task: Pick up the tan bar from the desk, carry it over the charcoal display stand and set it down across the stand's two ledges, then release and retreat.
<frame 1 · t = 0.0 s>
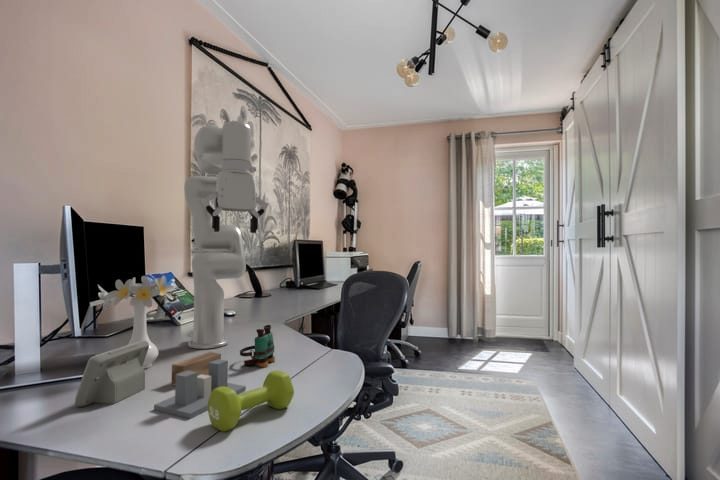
hand: (235, 232, 103), 37 cm above the table, tool pointing down, fingers open, 9 cm apart
binoculars: (256, 364, 109), on the table
digital clock: (114, 395, 85), on the table
tan bar: (197, 378, 97), on the table
display stand: (202, 399, 83), on the table
flower vase: (136, 368, 104), on the table
dumbbell: (252, 417, 75), on the table
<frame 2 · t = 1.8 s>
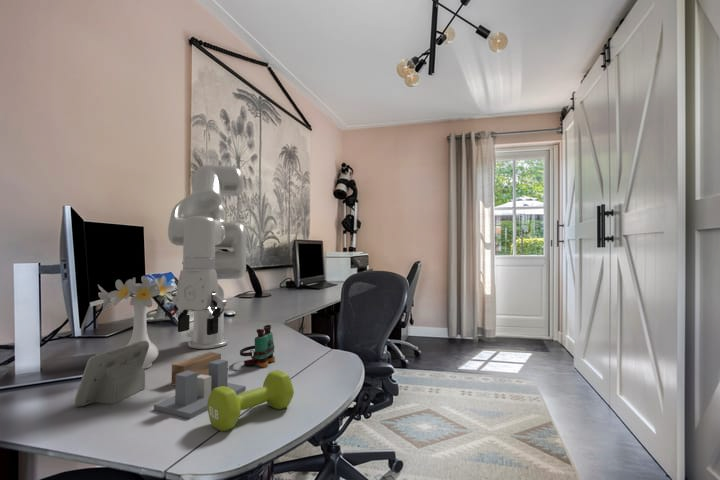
hand: (197, 332, 97), 12 cm above the table, tool pointing down, fingers open, 9 cm apart
nothing on the table moved.
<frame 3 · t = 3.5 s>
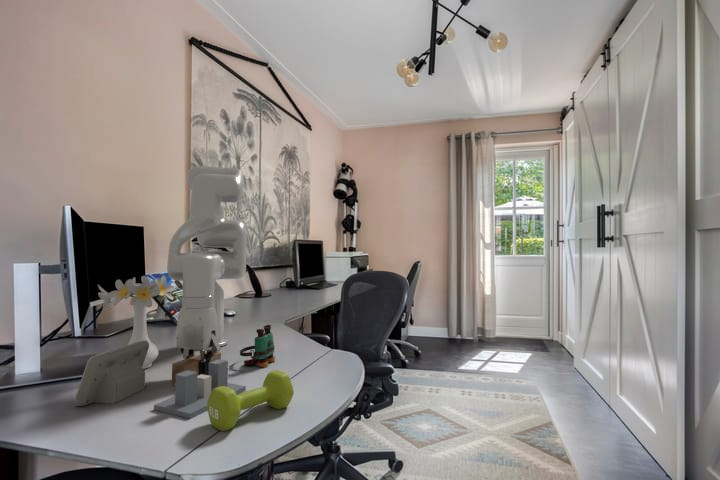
hand: (197, 374, 97), 1 cm above the table, tool pointing down, fingers closed on tan bar, 4 cm apart
tan bar: (197, 377, 97), on the table, touching gripper
everything else where it was.
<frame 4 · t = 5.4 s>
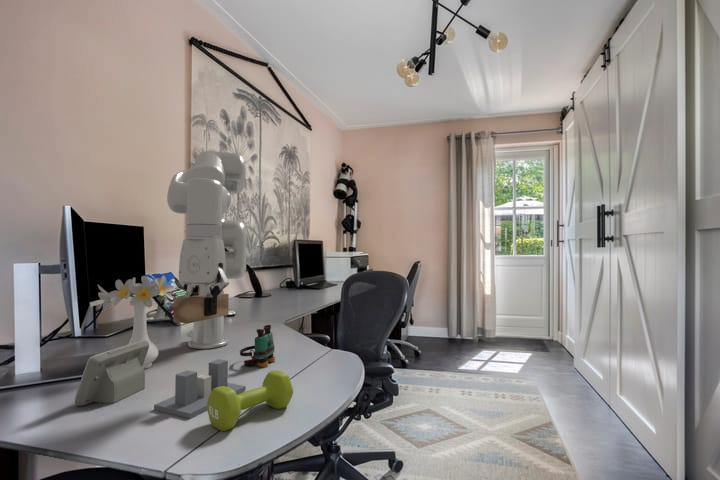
hand: (202, 313, 86), 18 cm above the table, tool pointing down, fingers closed on tan bar, 4 cm apart
tan bar: (202, 318, 86), point 17 cm above the table, touching gripper
everything else where it was.
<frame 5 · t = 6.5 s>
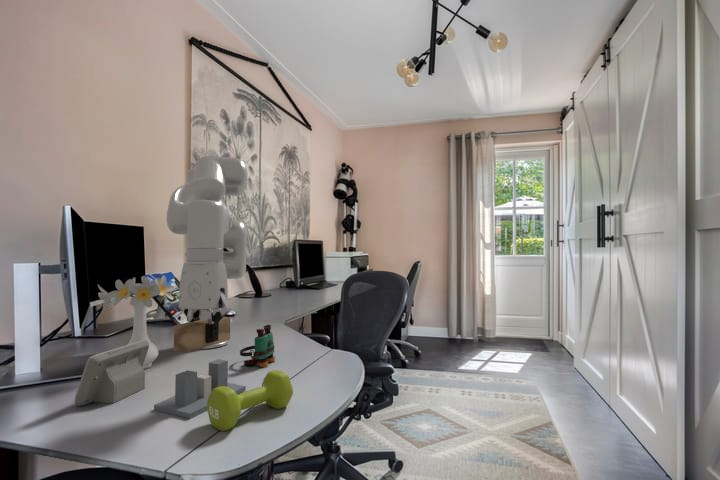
hand: (203, 339, 83), 13 cm above the table, tool pointing down, fingers closed on tan bar, 4 cm apart
tan bar: (203, 344, 83), point 12 cm above the table, touching gripper
everything else where it was.
when the fingers open (9 cm above the table, at t = 7.5 s): tan bar stays where it is, resting on display stand.
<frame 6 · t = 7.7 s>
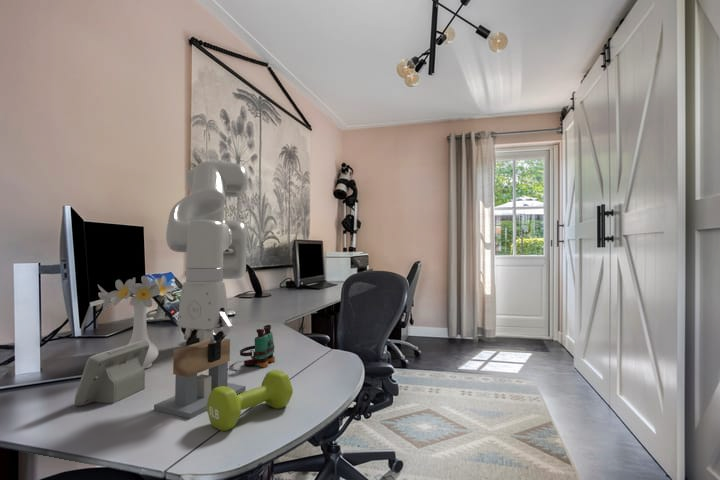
hand: (203, 358, 83), 9 cm above the table, tool pointing down, fingers open, 5 cm apart
tan bar: (203, 367, 83), point 7 cm above the table, touching display stand
everything else where it was.
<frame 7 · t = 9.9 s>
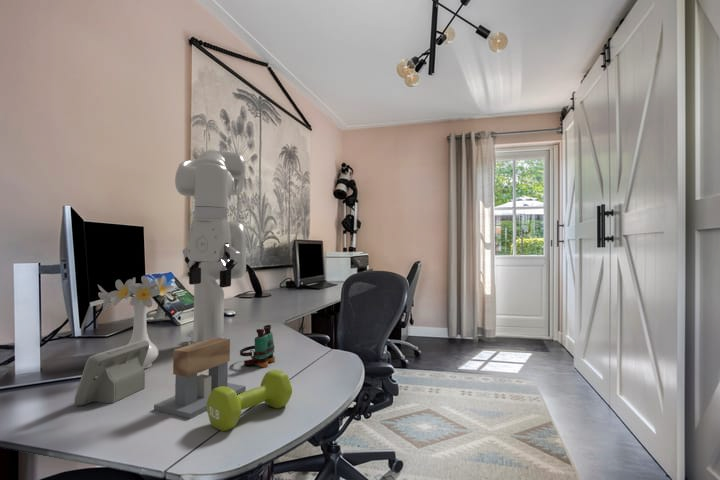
hand: (209, 285, 93), 24 cm above the table, tool pointing down, fingers open, 9 cm apart
nothing on the table moved.
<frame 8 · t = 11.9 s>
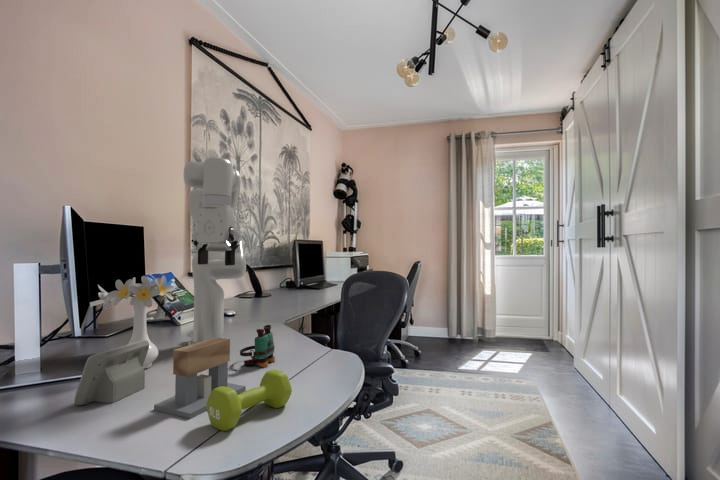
hand: (216, 264, 106), 28 cm above the table, tool pointing down, fingers open, 9 cm apart
nothing on the table moved.
at the end: tan bar 0.1 cm off-centre on the display stand, point 7.0 cm above the display stand's base; tan bar tilted 0°; the gripper is holding nothing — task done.
